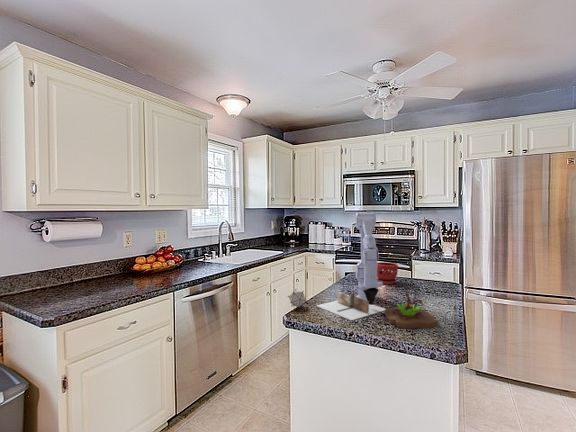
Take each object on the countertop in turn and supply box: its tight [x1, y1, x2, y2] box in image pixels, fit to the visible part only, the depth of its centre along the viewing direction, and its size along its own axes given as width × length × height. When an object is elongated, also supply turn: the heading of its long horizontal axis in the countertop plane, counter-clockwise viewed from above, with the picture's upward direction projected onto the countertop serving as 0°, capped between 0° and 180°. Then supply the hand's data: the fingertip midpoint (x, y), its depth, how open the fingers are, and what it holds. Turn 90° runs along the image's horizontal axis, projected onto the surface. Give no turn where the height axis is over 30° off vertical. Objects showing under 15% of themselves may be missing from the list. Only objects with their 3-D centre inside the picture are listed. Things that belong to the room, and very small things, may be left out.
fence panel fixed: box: [337, 291, 355, 308], centre depth 148 cm, size 10×2×6 cm, turn 35°
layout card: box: [315, 299, 386, 322], centre depth 145 cm, size 23×23×1 cm
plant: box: [384, 291, 439, 329], centre depth 130 cm, size 20×20×11 cm
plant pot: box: [377, 261, 399, 285], centre depth 193 cm, size 13×13×12 cm
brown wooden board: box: [354, 296, 369, 313], centre depth 140 cm, size 8×1×5 cm, turn 35°
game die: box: [287, 288, 309, 310], centre depth 146 cm, size 9×8×10 cm
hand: (370, 304), depth 143 cm, fingers closed
